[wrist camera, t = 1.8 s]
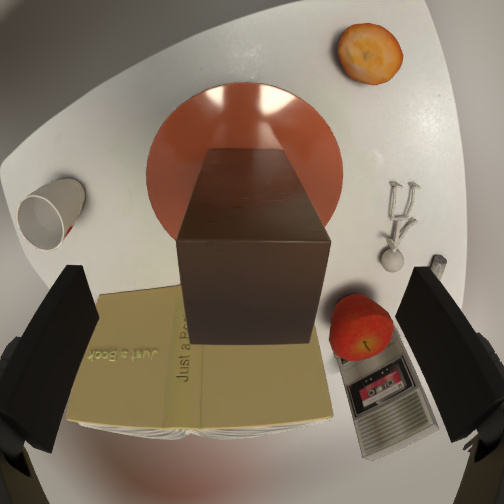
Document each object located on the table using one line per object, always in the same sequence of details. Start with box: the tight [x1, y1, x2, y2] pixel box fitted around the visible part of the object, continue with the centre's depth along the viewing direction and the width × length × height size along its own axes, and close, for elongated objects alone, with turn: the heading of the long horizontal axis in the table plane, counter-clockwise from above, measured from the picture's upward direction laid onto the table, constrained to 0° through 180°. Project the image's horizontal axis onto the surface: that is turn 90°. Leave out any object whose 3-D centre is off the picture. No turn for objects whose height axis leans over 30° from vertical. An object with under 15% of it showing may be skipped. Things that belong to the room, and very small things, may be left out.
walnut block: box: [176, 149, 331, 345], centre depth 16 cm, size 5×5×12 cm
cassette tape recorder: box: [333, 327, 439, 461], centre depth 51 cm, size 14×6×25 cm, turn 130°
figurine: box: [381, 182, 421, 272], centre depth 44 cm, size 6×6×15 cm
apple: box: [329, 294, 394, 361], centre depth 50 cm, size 11×11×12 cm
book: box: [66, 285, 334, 440], centre depth 44 cm, size 36×8×24 cm, turn 97°
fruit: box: [338, 23, 403, 85], centre depth 30 cm, size 8×8×8 cm
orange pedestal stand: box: [146, 82, 343, 241], centre depth 30 cm, size 14×14×20 cm
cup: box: [16, 179, 85, 251], centre depth 37 cm, size 8×8×10 cm
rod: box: [431, 255, 447, 281], centre depth 52 cm, size 12×3×3 cm, turn 0°
